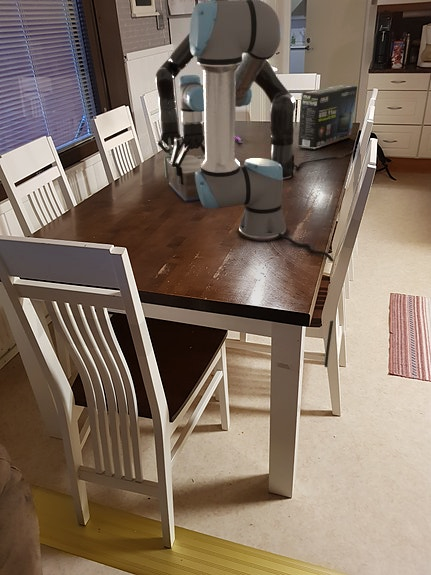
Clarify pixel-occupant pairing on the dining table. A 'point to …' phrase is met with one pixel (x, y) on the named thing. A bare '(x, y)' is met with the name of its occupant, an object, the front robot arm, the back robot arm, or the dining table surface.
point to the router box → (326, 115)
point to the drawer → (167, 165)
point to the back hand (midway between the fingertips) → (173, 161)
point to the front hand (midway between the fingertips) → (195, 181)
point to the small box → (185, 178)
